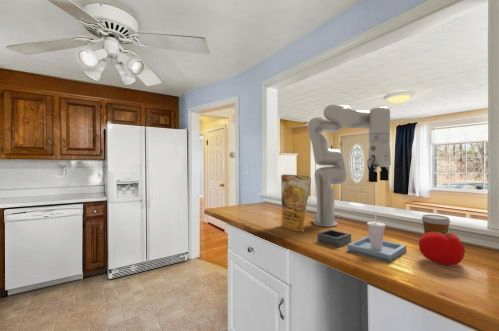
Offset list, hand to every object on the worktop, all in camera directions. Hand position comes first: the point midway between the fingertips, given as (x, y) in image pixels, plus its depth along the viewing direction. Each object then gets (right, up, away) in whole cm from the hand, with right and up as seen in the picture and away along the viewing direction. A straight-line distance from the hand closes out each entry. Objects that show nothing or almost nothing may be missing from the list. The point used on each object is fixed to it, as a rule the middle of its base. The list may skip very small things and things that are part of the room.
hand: (378, 181), depth 101 cm
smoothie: (-3, -26, -5) cm, 27 cm away
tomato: (+13, -27, -16) cm, 34 cm away
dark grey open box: (-16, -27, +7) cm, 32 cm away
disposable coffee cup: (+23, -27, +1) cm, 36 cm away
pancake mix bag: (-29, -27, +29) cm, 49 cm away
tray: (-3, -27, -5) cm, 27 cm away
